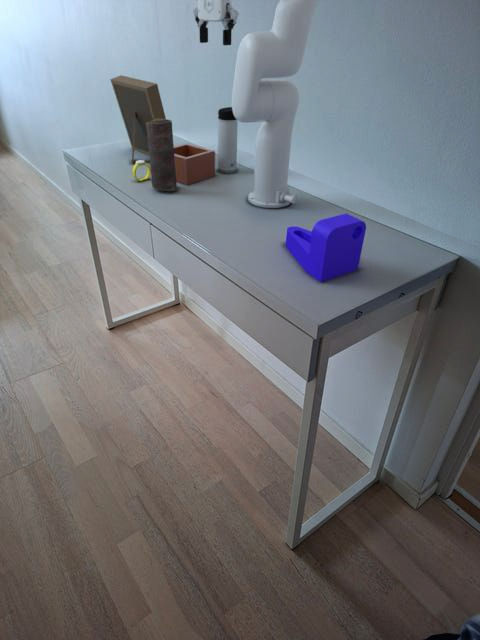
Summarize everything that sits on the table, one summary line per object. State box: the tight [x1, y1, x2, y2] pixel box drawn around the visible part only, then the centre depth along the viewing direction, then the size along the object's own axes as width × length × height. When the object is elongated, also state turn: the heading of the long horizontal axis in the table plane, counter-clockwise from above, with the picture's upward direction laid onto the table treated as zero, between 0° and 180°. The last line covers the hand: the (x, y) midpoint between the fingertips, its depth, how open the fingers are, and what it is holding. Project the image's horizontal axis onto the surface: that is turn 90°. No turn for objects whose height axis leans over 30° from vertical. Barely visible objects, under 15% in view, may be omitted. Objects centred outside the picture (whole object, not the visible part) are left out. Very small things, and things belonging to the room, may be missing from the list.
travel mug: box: [217, 106, 239, 175], centre depth 149 cm, size 6×7×20 cm
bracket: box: [285, 213, 367, 283], centre depth 101 cm, size 18×11×12 cm, turn 33°
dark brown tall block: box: [146, 118, 178, 192], centre depth 132 cm, size 8×7×20 cm
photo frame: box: [110, 74, 167, 165], centre depth 158 cm, size 15×22×25 cm
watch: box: [131, 159, 151, 182], centre depth 143 cm, size 6×3×6 cm, turn 135°
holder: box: [174, 142, 216, 186], centre depth 147 cm, size 13×13×8 cm
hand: (215, 43), depth 140 cm, fingers open, 9 cm apart
